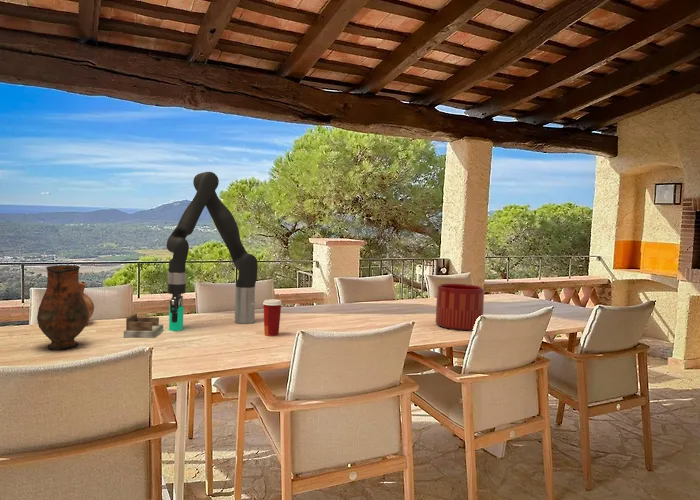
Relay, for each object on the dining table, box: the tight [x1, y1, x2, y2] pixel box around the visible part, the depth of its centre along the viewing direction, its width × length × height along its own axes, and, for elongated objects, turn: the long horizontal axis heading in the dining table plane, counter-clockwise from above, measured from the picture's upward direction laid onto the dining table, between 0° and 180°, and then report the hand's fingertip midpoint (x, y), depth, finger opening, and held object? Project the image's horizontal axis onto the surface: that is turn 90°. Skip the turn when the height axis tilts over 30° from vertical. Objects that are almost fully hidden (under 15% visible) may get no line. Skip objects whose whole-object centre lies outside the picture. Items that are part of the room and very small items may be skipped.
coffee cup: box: [262, 298, 283, 337], centre depth 217 cm, size 8×8×15 cm
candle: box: [168, 305, 184, 332], centre depth 220 cm, size 6×6×12 cm
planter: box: [435, 283, 485, 331], centre depth 250 cm, size 23×23×20 cm
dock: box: [123, 313, 164, 339], centre depth 210 cm, size 12×14×8 cm
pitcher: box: [36, 264, 89, 351], centre depth 187 cm, size 17×21×30 cm
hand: (176, 320), depth 221 cm, fingers closed on candle, 5 cm apart
